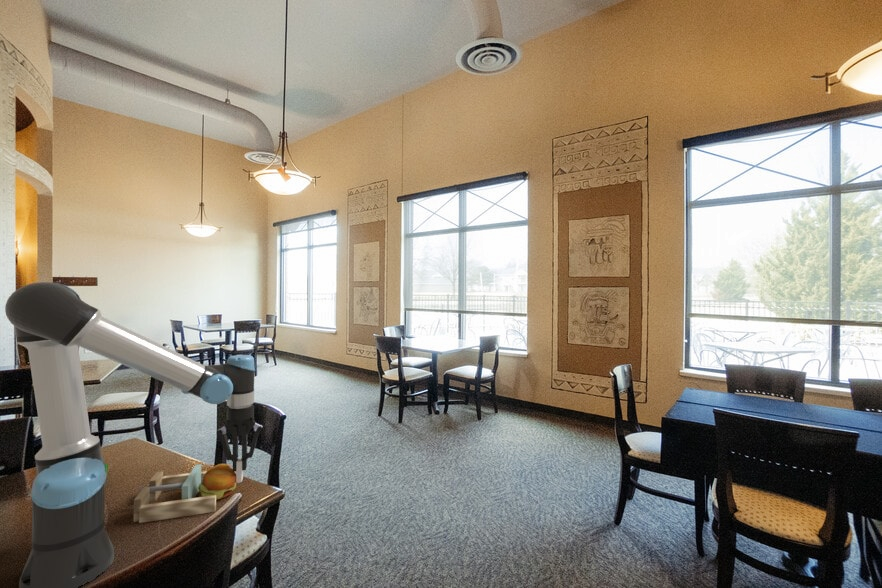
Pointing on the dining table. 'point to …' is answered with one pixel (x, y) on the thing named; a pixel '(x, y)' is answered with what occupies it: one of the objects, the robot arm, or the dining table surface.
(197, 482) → the pusher
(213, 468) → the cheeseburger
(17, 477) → the dining table surface
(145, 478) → the dining table surface
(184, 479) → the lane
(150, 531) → the dining table surface
